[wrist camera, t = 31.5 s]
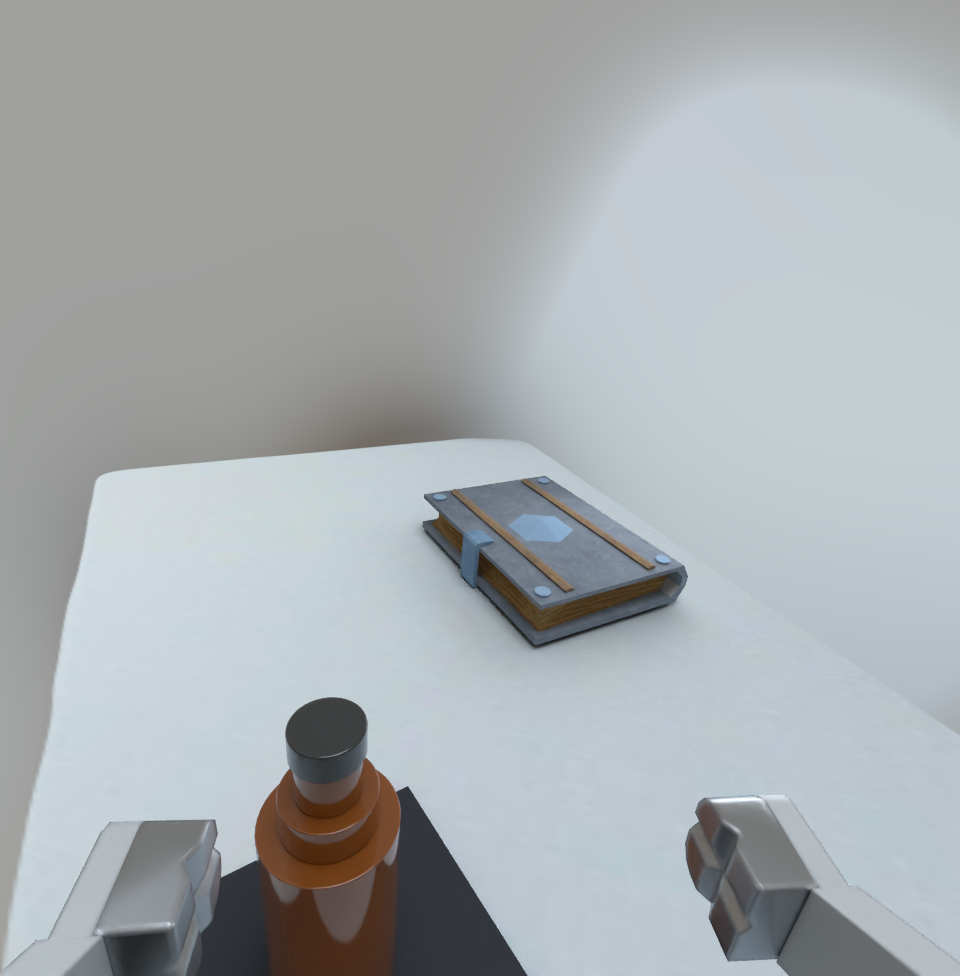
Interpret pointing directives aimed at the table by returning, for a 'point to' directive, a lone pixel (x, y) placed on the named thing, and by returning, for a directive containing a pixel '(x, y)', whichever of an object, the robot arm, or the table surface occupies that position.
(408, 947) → the mat
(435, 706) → the table surface
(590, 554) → the book
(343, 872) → the bottle
